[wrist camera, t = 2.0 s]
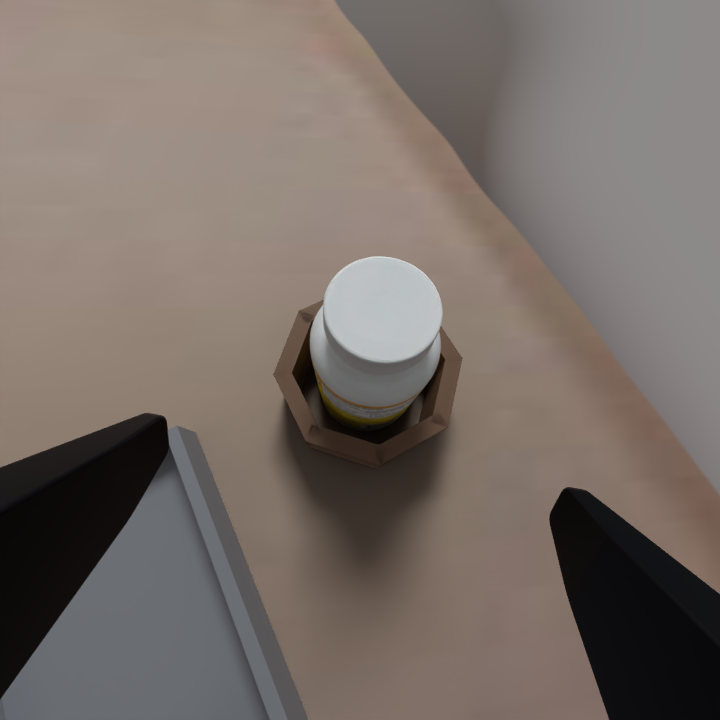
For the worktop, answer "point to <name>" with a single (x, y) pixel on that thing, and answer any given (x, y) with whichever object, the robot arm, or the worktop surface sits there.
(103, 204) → the worktop surface
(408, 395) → the supplement bottle
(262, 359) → the worktop surface
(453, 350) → the cup holder
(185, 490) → the tray
